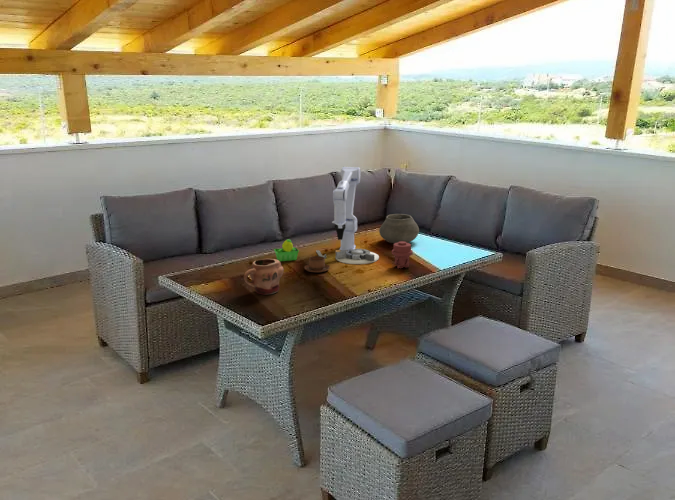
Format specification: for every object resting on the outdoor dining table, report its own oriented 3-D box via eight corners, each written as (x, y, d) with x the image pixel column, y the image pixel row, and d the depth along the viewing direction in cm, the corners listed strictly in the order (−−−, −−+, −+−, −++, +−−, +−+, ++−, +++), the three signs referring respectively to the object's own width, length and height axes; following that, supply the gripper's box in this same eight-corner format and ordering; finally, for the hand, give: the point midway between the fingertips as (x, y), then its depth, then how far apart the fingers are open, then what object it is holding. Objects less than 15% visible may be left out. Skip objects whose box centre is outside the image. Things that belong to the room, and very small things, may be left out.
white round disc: (338, 251, 321) (338, 244, 320) (380, 252, 318) (380, 245, 317) (332, 263, 300) (332, 256, 299) (377, 264, 297) (377, 257, 296)
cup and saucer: (299, 270, 289) (299, 258, 288) (317, 265, 298) (317, 253, 296) (316, 276, 281) (316, 263, 280) (334, 270, 289) (334, 258, 288)
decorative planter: (256, 302, 248) (255, 269, 244) (237, 295, 256) (235, 264, 252) (291, 289, 262) (290, 258, 259) (271, 284, 270) (270, 254, 266)
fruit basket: (295, 256, 313) (295, 235, 310) (300, 261, 305) (299, 239, 302) (274, 258, 309) (273, 237, 306) (277, 263, 301) (277, 241, 298)
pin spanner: (316, 252, 321) (316, 248, 321) (322, 251, 322) (322, 247, 321) (320, 259, 308) (320, 254, 308) (326, 258, 309) (326, 254, 308)
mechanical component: (391, 263, 299) (411, 264, 298) (391, 269, 289) (412, 270, 288) (392, 239, 296) (412, 239, 295) (391, 244, 286) (413, 245, 285)
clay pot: (407, 249, 324) (407, 222, 320) (372, 244, 335) (372, 217, 331) (424, 240, 341) (425, 214, 337) (391, 236, 352) (391, 210, 348)
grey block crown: (338, 251, 316) (338, 244, 315) (371, 252, 314) (371, 245, 313) (335, 258, 304) (335, 251, 303) (368, 259, 302) (368, 252, 301)
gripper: (332, 209, 312) (332, 235, 316) (331, 215, 298) (332, 242, 302) (345, 209, 312) (345, 235, 316) (346, 215, 298) (346, 242, 302)
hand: (340, 239), depth 309 cm, fingers closed
